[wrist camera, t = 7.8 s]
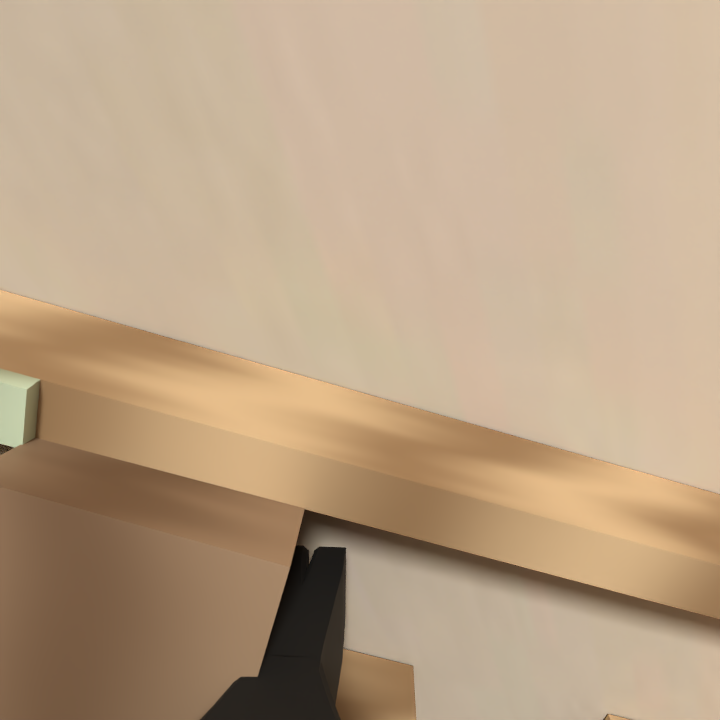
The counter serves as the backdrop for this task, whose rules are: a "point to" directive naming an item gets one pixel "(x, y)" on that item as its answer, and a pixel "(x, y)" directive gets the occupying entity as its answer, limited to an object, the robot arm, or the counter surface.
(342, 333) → the counter surface
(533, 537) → the trap lane
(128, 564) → the walnut block
